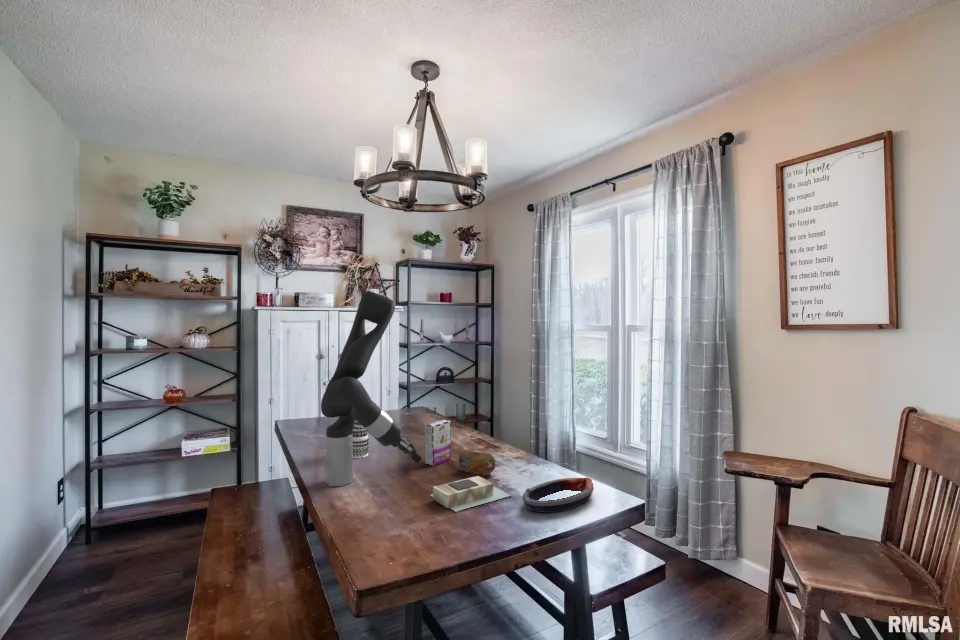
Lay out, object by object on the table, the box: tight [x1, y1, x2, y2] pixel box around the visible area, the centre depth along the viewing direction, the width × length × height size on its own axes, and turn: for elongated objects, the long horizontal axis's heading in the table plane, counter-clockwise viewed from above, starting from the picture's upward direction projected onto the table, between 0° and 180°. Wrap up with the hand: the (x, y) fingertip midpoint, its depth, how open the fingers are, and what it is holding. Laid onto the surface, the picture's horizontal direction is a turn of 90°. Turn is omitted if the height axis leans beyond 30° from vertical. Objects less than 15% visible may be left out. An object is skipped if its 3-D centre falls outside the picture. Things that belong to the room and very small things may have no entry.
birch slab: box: [432, 475, 494, 509], centre depth 152 cm, size 4×9×18 cm
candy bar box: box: [424, 419, 452, 467], centre depth 190 cm, size 11×5×16 cm, turn 143°
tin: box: [458, 449, 496, 476], centre depth 177 cm, size 15×3×8 cm, turn 62°
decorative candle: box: [353, 419, 370, 459], centre depth 199 cm, size 9×9×25 cm
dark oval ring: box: [521, 477, 595, 513], centre depth 150 cm, size 16×31×5 cm, turn 126°
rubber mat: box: [430, 485, 512, 513], centre depth 154 cm, size 22×16×1 cm
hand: (418, 460), depth 143 cm, fingers closed
